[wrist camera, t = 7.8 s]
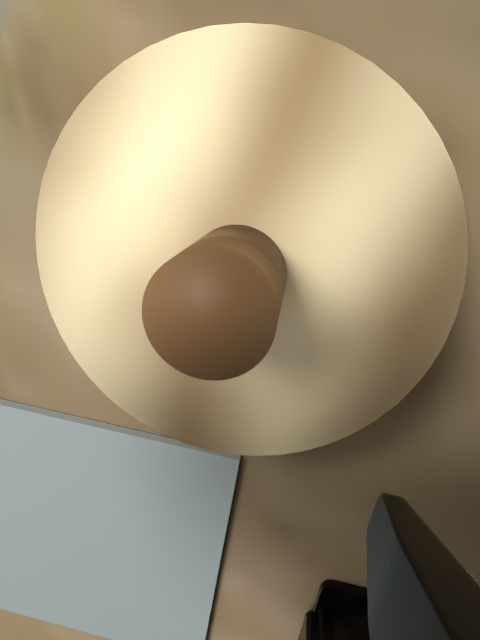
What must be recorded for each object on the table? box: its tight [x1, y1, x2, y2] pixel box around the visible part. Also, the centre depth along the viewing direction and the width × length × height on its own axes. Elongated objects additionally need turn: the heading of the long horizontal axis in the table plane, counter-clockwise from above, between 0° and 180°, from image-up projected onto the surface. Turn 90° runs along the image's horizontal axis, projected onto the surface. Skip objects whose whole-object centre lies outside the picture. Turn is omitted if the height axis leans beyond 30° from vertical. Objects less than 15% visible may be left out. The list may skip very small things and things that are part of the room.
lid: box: [36, 23, 468, 456], centre depth 12 cm, size 13×13×5 cm
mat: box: [0, 399, 241, 640], centre depth 26 cm, size 16×16×1 cm
